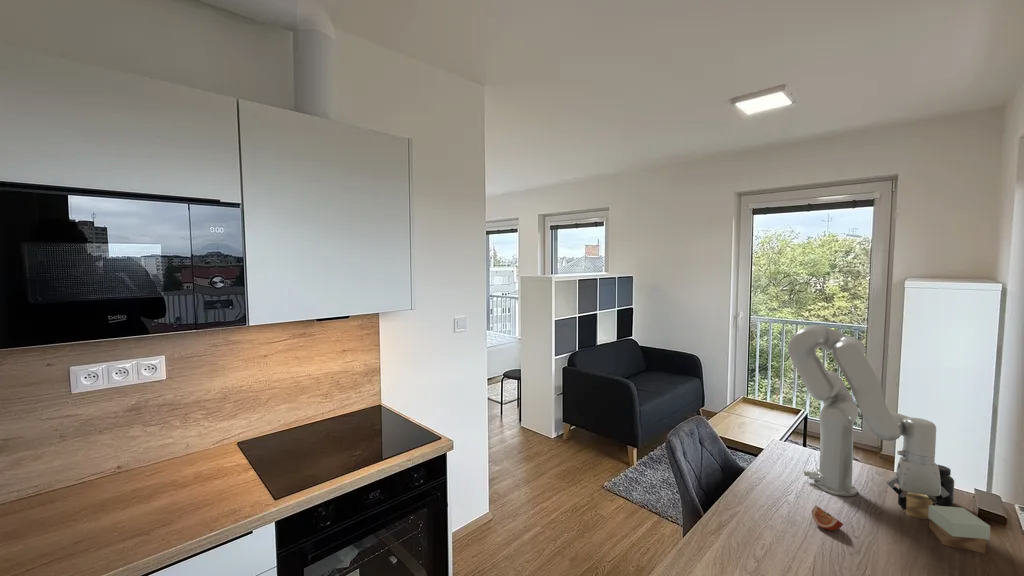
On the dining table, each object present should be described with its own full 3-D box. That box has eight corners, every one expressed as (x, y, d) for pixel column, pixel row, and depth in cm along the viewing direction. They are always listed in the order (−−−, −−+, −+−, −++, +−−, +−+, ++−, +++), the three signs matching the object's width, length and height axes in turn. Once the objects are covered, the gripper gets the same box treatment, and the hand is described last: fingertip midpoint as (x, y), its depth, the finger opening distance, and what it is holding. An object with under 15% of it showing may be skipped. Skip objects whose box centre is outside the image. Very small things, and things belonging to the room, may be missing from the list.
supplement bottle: (959, 507, 142) (960, 473, 141) (935, 505, 143) (936, 471, 142) (942, 496, 148) (944, 463, 147) (919, 494, 150) (921, 461, 149)
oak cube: (907, 515, 138) (908, 497, 137) (900, 505, 143) (901, 488, 143) (931, 520, 135) (932, 502, 135) (923, 510, 140) (924, 492, 140)
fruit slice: (806, 520, 136) (806, 505, 136) (825, 518, 137) (826, 503, 137) (828, 536, 128) (829, 521, 128) (848, 535, 129) (849, 519, 128)
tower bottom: (943, 545, 124) (943, 532, 123) (928, 528, 132) (929, 515, 132) (985, 554, 120) (986, 541, 120) (968, 535, 128) (968, 523, 128)
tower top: (952, 536, 122) (952, 522, 122) (928, 517, 131) (928, 505, 131) (989, 539, 120) (990, 526, 120) (962, 520, 129) (963, 507, 129)
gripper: (888, 457, 138) (886, 509, 139) (960, 467, 131) (957, 523, 132) (880, 447, 145) (878, 498, 146) (948, 457, 137) (945, 510, 139)
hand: (915, 509), depth 139 cm, fingers closed on oak cube, 6 cm apart
